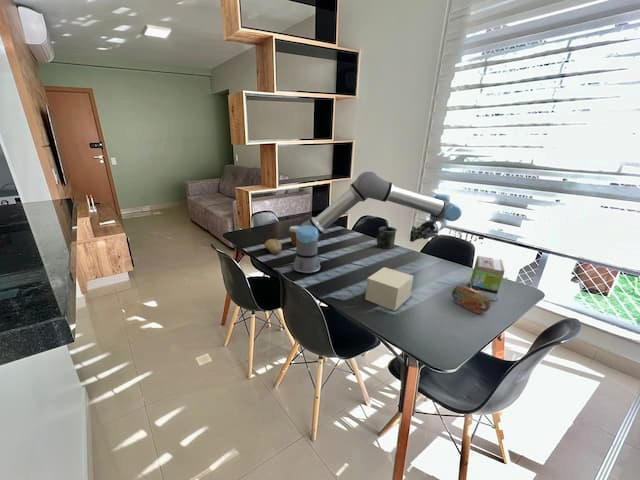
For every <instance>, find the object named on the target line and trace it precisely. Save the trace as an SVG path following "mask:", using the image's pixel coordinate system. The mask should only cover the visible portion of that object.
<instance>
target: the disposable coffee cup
mask: <svg viewBox="0 0 640 480" xmlns="http://www.w3.org/2000/svg"><path fill="white" fill-rule="evenodd" d="M300 226H301V225H292V226H290V227H289V229H288V230H289V234H290V235H289V236H290V241H291V245H292V246H295V247H296V232H297V229H298V228H299V227H300Z"/></svg>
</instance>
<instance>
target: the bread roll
mask: <svg viewBox="0 0 640 480" xmlns="http://www.w3.org/2000/svg"><path fill="white" fill-rule="evenodd" d="M282 247H283V246H282V244H281V241H280V240H279V239H278V238H270V239H267V240H266V241H265V242H264V248H265V249H266V250H268V252H270V254H273V255H278V254H280V253H281V252H282Z"/></svg>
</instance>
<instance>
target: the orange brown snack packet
mask: <svg viewBox="0 0 640 480" xmlns="http://www.w3.org/2000/svg"><path fill="white" fill-rule="evenodd" d="M451 294H452V295H451V296H452V299H453V301H454V302H455V303H456V304H457V305H459V306H461V307H463V308H465V309H467V310H469V311H471V312H473V313H475V314H483V313H487V312H488V311H489V310H490V309H491V305H492V302H491V300H489V298H488V297H487V296H486V295H485V294H483V293H481V292H478V291H476V290H474V289H471V288H470V286H468V285H458V286H455V287H454V288H453V289H452V293H451Z"/></svg>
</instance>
